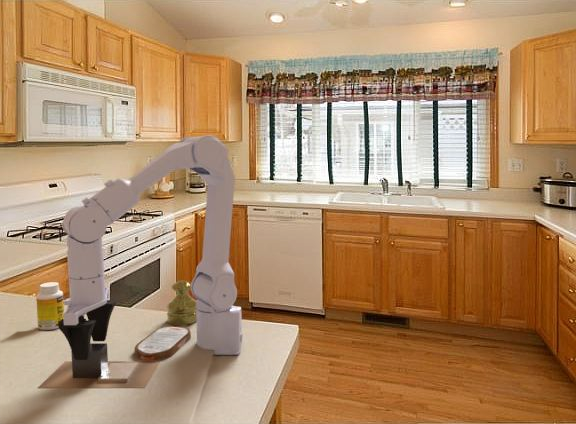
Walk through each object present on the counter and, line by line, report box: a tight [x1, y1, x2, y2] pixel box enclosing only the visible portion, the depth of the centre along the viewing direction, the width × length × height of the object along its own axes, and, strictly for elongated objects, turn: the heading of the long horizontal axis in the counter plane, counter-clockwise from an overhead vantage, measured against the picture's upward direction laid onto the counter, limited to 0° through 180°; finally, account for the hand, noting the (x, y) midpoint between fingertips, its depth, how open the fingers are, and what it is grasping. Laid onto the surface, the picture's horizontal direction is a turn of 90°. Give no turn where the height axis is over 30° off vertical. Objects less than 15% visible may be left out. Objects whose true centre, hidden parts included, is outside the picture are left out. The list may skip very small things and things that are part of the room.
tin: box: [134, 325, 192, 361], centre depth 94 cm, size 15×3×8 cm
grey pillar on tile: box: [70, 342, 138, 382], centre depth 81 cm, size 10×6×5 cm, turn 91°
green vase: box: [166, 279, 197, 326], centre depth 111 cm, size 7×7×10 cm
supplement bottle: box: [35, 281, 65, 331], centre depth 107 cm, size 6×6×10 cm
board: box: [37, 360, 161, 389], centre depth 82 cm, size 18×10×1 cm, turn 91°
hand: (90, 349), depth 81 cm, fingers open, 7 cm apart
